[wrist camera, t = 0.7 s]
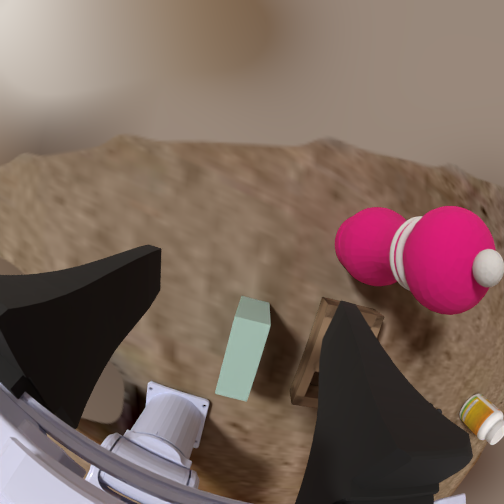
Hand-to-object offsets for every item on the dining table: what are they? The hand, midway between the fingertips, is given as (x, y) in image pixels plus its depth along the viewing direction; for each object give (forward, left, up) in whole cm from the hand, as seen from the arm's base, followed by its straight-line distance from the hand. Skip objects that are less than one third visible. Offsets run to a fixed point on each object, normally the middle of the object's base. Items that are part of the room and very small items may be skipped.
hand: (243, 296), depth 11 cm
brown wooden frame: (-9, -11, -18) cm, 23 cm away
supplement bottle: (-16, -41, -19) cm, 48 cm away
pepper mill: (+4, -11, -19) cm, 22 cm away
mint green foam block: (-9, -1, -18) cm, 20 cm away
